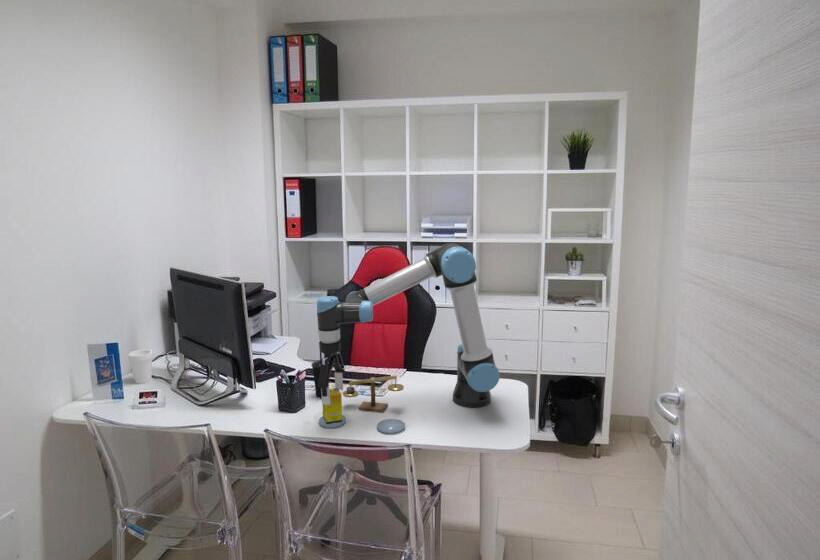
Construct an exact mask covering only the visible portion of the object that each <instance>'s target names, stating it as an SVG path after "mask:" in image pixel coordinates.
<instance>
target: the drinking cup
mask: <svg viewBox="0 0 820 560" xmlns="http://www.w3.org/2000/svg"><path fill="white" fill-rule="evenodd" d="M322 354H323V353H322V352H320V351H319V360H316V361H313V362H312V363H311V367H312V375H313V381H314V388H315V389H314V391H315V396H316V397H317V398H319V399H322V393H321V388H319V387H318V383H319V374H320V359H323V357H322ZM329 385H330V382H329V383H328V386H329ZM329 387H330V386H329Z"/></svg>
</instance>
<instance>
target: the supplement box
mask: <svg viewBox="0 0 820 560" xmlns="http://www.w3.org/2000/svg"><path fill="white" fill-rule="evenodd" d="M340 391H341V390H338V388H336V387H333V388H329V392H330V405H325V404H322V416H323V418H324V420H325V422H326V424H332V423H338V422H342V415H343V409H342V408H343V404H342V403H343V401H342V400H343V399H342V398H343V397H342V396H343V393H341V392H340Z"/></svg>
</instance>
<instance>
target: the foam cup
mask: <svg viewBox="0 0 820 560" xmlns="http://www.w3.org/2000/svg"><path fill="white" fill-rule="evenodd" d="M153 357H154V356H153V350H152V349H137V350H133V351H131V352H129V353H128V360H129V363H130V367H131V370H132V375H133V378H134V381H135V384H137V385H143V384H144V385H145V384H148V383H150V382H152V376H153V375H152V374H153V373H152V371H153Z"/></svg>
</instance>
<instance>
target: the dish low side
mask: <svg viewBox="0 0 820 560" xmlns="http://www.w3.org/2000/svg"><path fill="white" fill-rule="evenodd" d="M346 424H347V417H346V416H345V415H343V414H342V422H338V423H332V424H326V422H325V420H324V418H323V415H322V416H320V417H319V419H318V425H319V426H320V427H321V428H323V429H326V430H327V429H330V430H331V429H338V428H339V429H340V428H341V427H344V426H345V425H346Z"/></svg>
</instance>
